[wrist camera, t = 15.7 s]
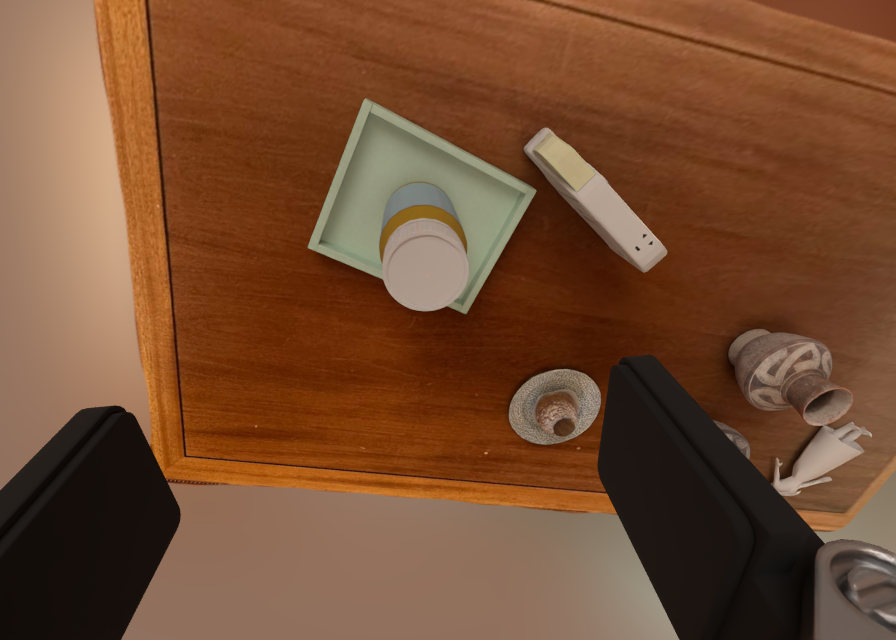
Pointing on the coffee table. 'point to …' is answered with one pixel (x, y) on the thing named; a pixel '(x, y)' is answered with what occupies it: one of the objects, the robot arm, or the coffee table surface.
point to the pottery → (786, 378)
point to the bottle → (423, 248)
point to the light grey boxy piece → (595, 200)
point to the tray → (404, 161)
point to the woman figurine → (820, 458)
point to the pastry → (554, 406)
